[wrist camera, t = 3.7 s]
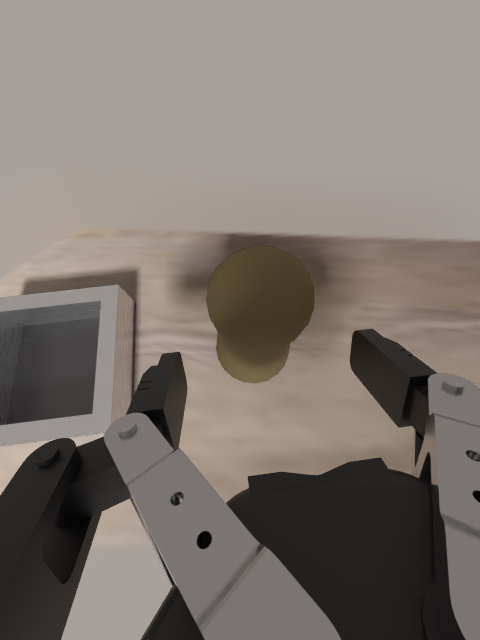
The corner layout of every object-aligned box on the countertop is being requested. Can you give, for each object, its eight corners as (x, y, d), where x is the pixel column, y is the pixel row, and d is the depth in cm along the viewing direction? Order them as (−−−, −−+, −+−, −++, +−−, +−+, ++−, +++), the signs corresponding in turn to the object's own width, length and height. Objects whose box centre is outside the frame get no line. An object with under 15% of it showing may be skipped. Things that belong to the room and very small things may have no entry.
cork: (293, 380, 20) (347, 345, 10) (217, 385, 20) (191, 355, 10) (284, 310, 22) (320, 221, 12) (215, 314, 22) (191, 228, 12)
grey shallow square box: (135, 302, 23) (118, 284, 19) (132, 428, 19) (110, 431, 16) (16, 316, 22) (-22, 299, 19) (-11, 447, 19) (-62, 453, 15)
